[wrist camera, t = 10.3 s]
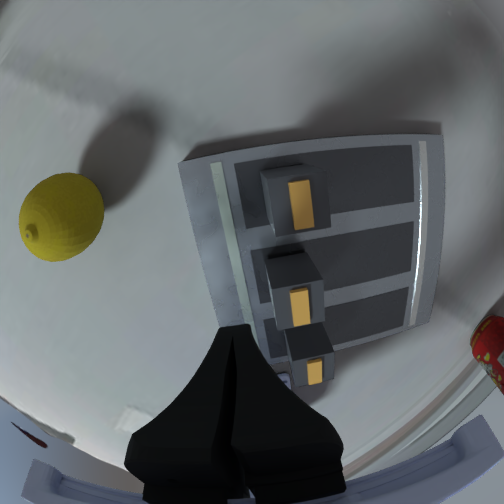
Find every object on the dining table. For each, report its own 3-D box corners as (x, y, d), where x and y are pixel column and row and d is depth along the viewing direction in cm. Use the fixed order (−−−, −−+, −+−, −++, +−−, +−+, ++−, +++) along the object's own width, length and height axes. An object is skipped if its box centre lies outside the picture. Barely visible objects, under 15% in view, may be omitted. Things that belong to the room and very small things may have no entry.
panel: (421, 314, 25) (429, 322, 23) (233, 358, 25) (233, 370, 24) (431, 134, 18) (443, 135, 16) (181, 161, 18) (177, 163, 17)
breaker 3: (321, 345, 23) (334, 381, 19) (287, 352, 23) (295, 390, 19) (320, 318, 21) (335, 354, 17) (283, 326, 21) (292, 364, 17)
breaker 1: (311, 208, 18) (333, 229, 14) (267, 216, 18) (276, 239, 14) (306, 163, 17) (328, 171, 13) (259, 170, 17) (267, 180, 13)
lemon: (106, 154, 17) (41, 168, 10) (130, 223, 19) (80, 269, 12) (54, 182, 18) (-12, 208, 10) (77, 243, 20) (22, 290, 12)
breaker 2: (310, 288, 20) (326, 323, 16) (270, 296, 20) (278, 333, 16) (306, 252, 19) (324, 282, 15) (264, 260, 19) (271, 292, 15)
